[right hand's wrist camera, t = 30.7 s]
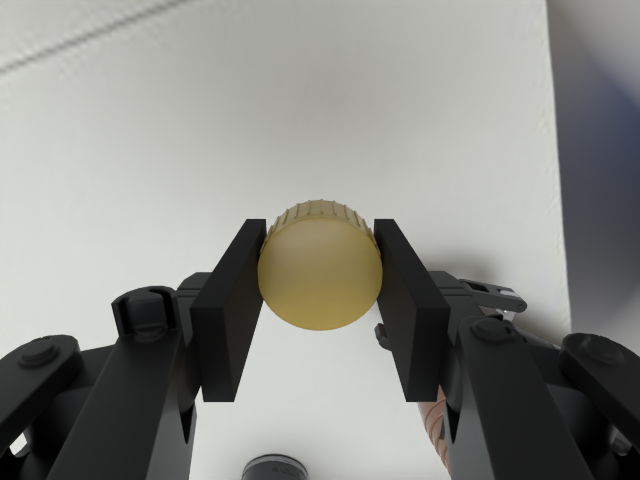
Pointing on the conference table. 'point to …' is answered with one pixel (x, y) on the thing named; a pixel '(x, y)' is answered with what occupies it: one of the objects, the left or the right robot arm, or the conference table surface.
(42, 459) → the right robot arm
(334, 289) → the cap
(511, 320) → the left robot arm
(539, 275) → the conference table surface
